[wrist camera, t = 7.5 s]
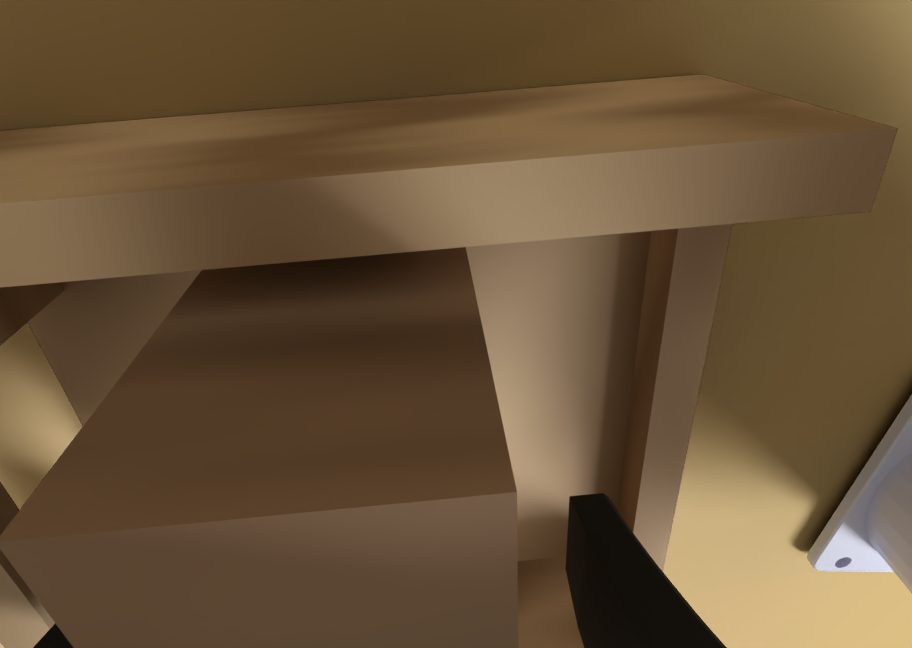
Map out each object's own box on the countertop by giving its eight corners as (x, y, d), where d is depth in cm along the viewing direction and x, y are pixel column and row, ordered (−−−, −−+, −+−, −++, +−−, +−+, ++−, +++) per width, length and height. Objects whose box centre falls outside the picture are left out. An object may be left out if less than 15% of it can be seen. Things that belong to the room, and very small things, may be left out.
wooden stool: (703, 74, 11) (897, 129, 6) (632, 547, 18) (701, 721, 14) (-38, 133, 10) (-353, 233, 6) (193, 591, 18) (123, 785, 13)
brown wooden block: (223, 240, 9) (-5, 541, 4) (460, 221, 9) (517, 492, 4) (329, 598, 15) (284, 931, 9) (482, 583, 15) (520, 903, 9)
